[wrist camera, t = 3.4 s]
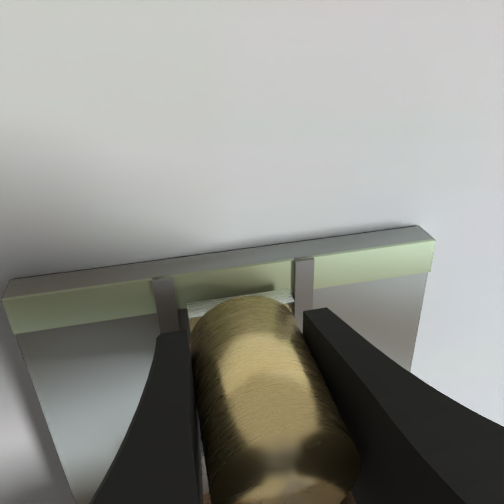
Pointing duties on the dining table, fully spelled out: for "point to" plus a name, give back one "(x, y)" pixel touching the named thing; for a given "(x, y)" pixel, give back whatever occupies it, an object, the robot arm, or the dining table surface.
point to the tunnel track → (176, 318)
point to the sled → (265, 407)
